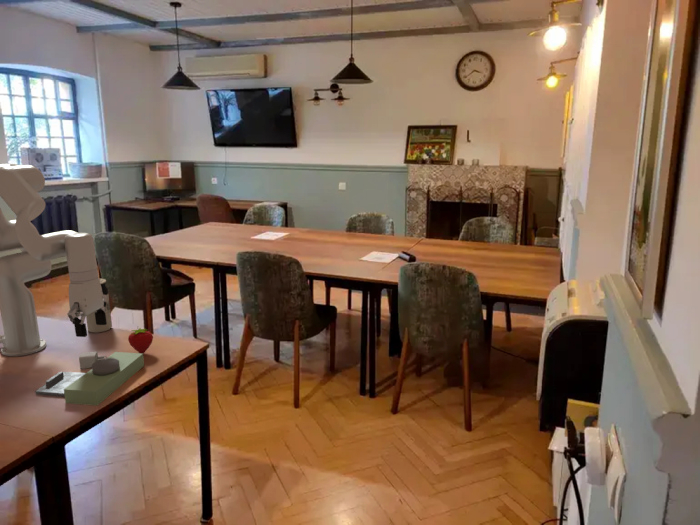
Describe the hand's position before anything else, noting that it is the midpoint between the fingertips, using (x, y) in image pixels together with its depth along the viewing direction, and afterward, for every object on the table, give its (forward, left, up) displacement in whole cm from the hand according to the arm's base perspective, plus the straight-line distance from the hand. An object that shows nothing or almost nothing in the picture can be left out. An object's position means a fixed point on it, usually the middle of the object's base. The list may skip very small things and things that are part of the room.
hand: (91, 330), depth 156 cm
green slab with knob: (+10, -10, -12) cm, 18 cm away
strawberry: (+9, +10, -12) cm, 18 cm away
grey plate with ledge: (0, -13, -12) cm, 17 cm away
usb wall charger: (-1, 0, -12) cm, 12 cm away
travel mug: (-17, +28, -12) cm, 35 cm away
